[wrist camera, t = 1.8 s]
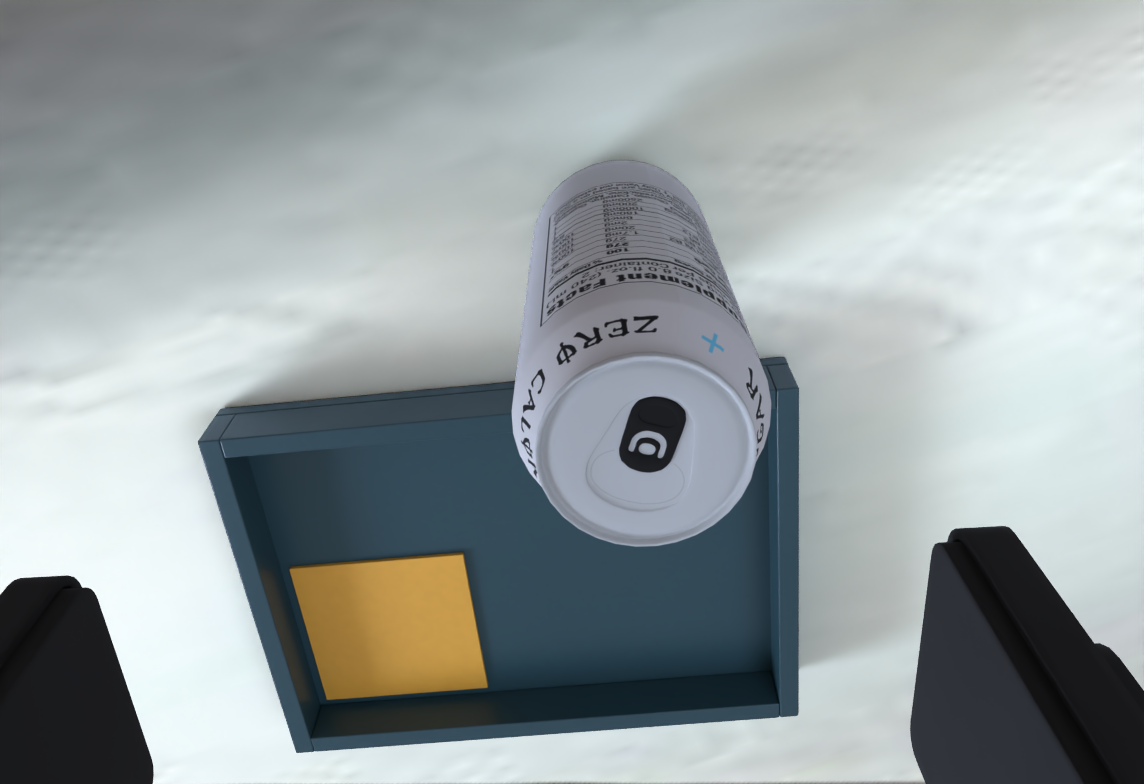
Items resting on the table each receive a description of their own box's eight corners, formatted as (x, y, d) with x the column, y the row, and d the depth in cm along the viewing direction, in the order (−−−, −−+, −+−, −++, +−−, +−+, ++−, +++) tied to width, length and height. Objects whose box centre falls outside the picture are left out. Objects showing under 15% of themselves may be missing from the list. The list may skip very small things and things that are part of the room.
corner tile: (463, 551, 40) (462, 554, 40) (488, 684, 43) (487, 688, 43) (290, 566, 40) (288, 569, 40) (327, 697, 44) (326, 700, 44)
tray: (785, 356, 37) (799, 387, 34) (787, 672, 44) (798, 716, 42) (220, 408, 38) (196, 441, 36) (310, 709, 45) (296, 753, 43)
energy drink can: (516, 295, 36) (480, 537, 22) (557, 132, 33) (544, 297, 20) (675, 334, 36) (732, 592, 23) (727, 178, 34) (827, 366, 20)
